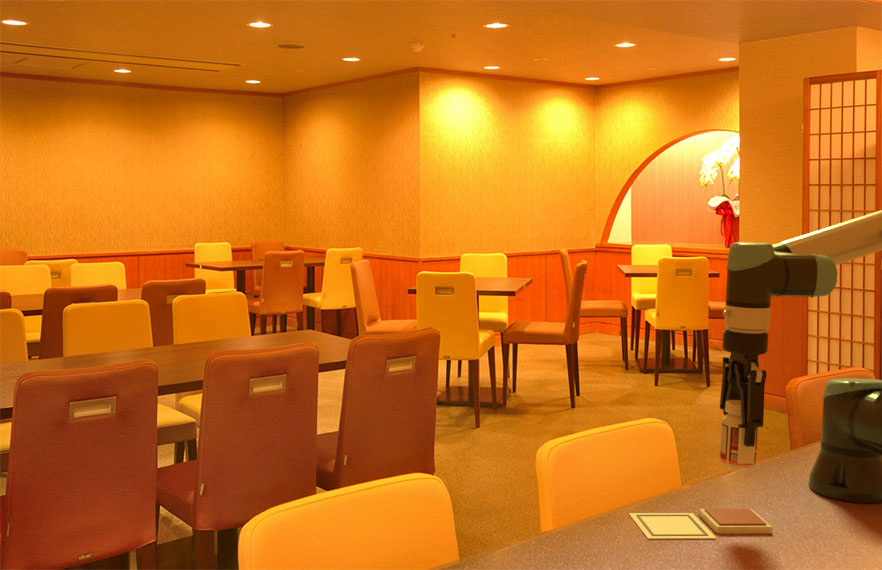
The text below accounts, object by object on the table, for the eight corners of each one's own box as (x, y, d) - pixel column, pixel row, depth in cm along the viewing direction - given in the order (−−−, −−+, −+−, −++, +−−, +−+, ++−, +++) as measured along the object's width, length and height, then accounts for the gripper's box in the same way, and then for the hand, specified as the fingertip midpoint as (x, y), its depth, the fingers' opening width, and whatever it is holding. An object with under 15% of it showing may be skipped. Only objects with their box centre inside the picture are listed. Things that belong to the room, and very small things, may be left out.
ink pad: (751, 515, 168) (751, 507, 167) (772, 533, 159) (772, 525, 158) (698, 515, 167) (699, 507, 167) (716, 533, 158) (717, 525, 158)
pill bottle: (762, 466, 161) (766, 404, 160) (740, 471, 157) (744, 408, 156) (734, 457, 166) (738, 397, 165) (712, 462, 162) (715, 401, 161)
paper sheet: (692, 514, 167) (692, 512, 167) (716, 539, 155) (716, 537, 155) (628, 514, 166) (628, 512, 166) (648, 539, 155) (648, 537, 154)
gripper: (705, 321, 168) (698, 442, 171) (747, 338, 149) (738, 473, 152) (744, 322, 169) (737, 442, 171) (791, 339, 150) (781, 474, 152)
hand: (737, 457), depth 161 cm, fingers closed on pill bottle, 6 cm apart
